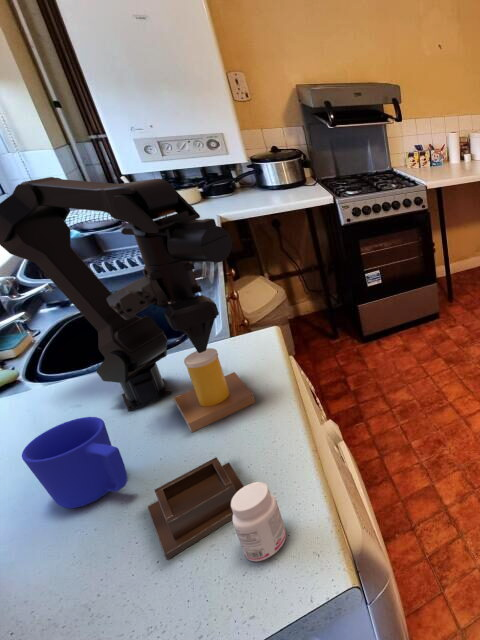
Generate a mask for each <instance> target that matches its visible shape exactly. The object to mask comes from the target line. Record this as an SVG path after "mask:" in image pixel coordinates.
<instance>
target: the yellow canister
mask: <svg viewBox="0 0 480 640" xmlns="http://www.w3.org/2000/svg"><path fill="white" fill-rule="evenodd" d="M183 363H184V365H185V367H186V369H187V371H188V375H189V377H190V380H191V383H192V386H193V389H195V392H196V395H197V398H198V400H199V403H200V405H201V406H213V405H216V404H219V403H221V402H222V401H224V400H225V399H226V398H227V397H228V396H229V390H228V387H227V383H226V380H225V377H224V376H225V374H224V371H223V368H222V364H221V361H220V359H219V352H218V350H217V349H216V348H211V347H207V349H206V351H204V352H201V353H198V352H197V350H195V351H193V352H191V353H190V354H188V355H187V356H186V357H184V360H183Z"/></svg>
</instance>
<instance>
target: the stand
mask: <svg viewBox="0 0 480 640" xmlns="http://www.w3.org/2000/svg"><path fill="white" fill-rule="evenodd" d="M244 486H245V485H244V484H243V483H242V481H241V479H240V478H239V476H238V475H237V473H236V472H235V469H234V468H233V467H232V464H231V463H230V462H226V463H225V464H223V465H222V463H221V462H220V460H219V459H218V457H217V456H216V457H214V458H212V459H210V460H208V461H206V462H204V463H202V464H201V465H198V466H197V467H194V468H192V469H191V470H189V471H187V472H185V473H184V474H181V475H179V476H178V477H176V478H174V479H172V480H170V481H168V482H167V483H164V484H162V485H160V486H159V487H157V488H155V489H154V494H155V496H156V498H157V501H154V502H153V503H151V504H149V505H148V506H147V509H148V512H149V515H150V519H151V520H152V524H153V526H154V530H155V533H156V535H157V537H158V540H159V544H160V546H161V549H162V551H163V555H164V557H165V559H166V561H168V560H170V559H172V558H173V557H174V556H176V555H178V554H180V553H182V552H183V551H184V550H186V549H188V548H189V547H191V546H193V545H194V544H196V543H197V542H199V541H200V540H202V539H204V538H205V537H207V536H208V535H210V534H211V533H213V532H215V531H216V530H218V529H219V528H221V527H222V526H224V525H226V524H227V523H229V522H230V521H233V520H232V519H233V511H232V508H231V500H232V498H233V496H234V495H235V494H236V493H237V492H238V491H239V490H240V489H241V488H243V487H244Z"/></svg>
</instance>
